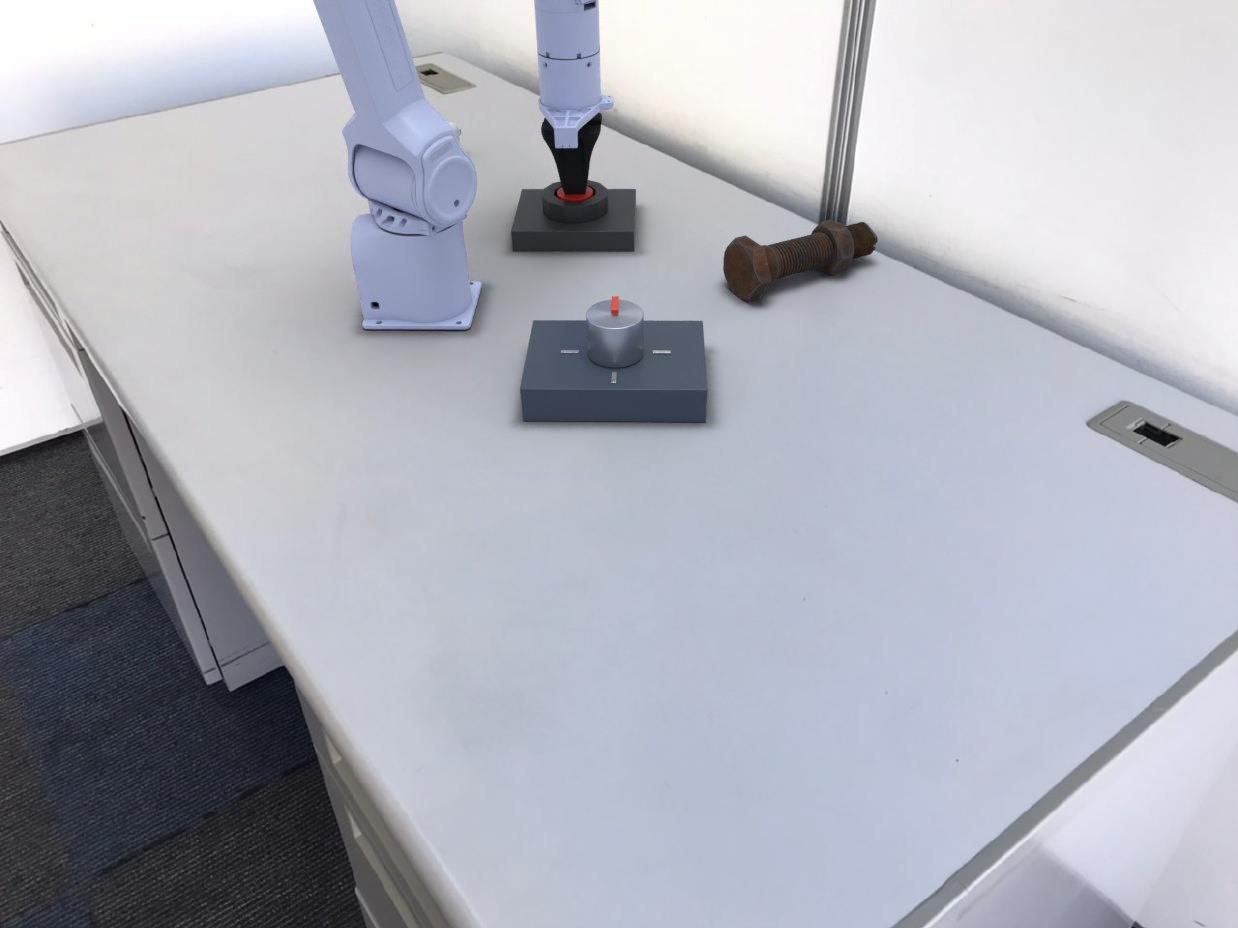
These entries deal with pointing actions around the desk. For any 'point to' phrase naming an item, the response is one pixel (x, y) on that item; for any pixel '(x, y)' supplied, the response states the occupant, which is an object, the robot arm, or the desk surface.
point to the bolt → (794, 256)
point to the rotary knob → (615, 333)
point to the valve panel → (615, 376)
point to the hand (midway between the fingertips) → (575, 192)
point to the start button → (575, 195)
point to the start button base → (575, 221)
